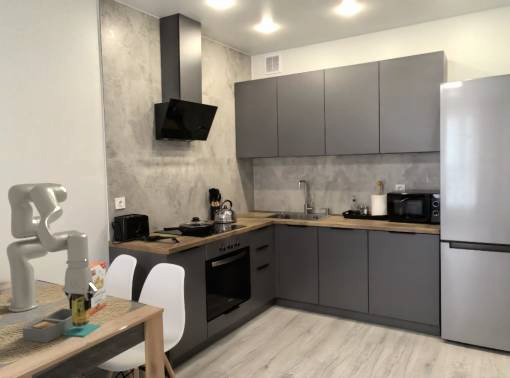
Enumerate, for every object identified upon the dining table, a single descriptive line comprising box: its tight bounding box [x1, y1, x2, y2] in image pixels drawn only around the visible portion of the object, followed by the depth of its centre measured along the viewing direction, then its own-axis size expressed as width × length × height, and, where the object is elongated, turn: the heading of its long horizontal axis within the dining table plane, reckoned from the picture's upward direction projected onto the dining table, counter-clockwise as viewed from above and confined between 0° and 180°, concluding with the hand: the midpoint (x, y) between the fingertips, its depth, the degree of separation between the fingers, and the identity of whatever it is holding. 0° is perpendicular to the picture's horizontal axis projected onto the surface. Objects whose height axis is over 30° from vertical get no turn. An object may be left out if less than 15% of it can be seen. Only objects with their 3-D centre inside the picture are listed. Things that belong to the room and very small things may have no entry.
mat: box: [61, 323, 101, 338], centre depth 157 cm, size 10×10×1 cm
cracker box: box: [89, 261, 108, 317], centre depth 178 cm, size 14×6×21 cm, turn 168°
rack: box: [22, 307, 74, 343], centre depth 158 cm, size 11×21×4 cm, turn 166°
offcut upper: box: [32, 321, 56, 330], centre depth 153 cm, size 7×5×2 cm
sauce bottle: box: [72, 293, 90, 327], centre depth 156 cm, size 7×6×20 cm
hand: (80, 308), depth 156 cm, fingers closed on sauce bottle, 6 cm apart
